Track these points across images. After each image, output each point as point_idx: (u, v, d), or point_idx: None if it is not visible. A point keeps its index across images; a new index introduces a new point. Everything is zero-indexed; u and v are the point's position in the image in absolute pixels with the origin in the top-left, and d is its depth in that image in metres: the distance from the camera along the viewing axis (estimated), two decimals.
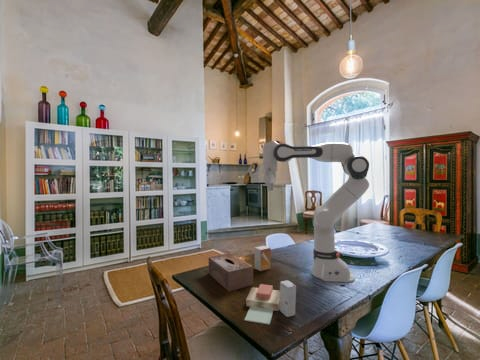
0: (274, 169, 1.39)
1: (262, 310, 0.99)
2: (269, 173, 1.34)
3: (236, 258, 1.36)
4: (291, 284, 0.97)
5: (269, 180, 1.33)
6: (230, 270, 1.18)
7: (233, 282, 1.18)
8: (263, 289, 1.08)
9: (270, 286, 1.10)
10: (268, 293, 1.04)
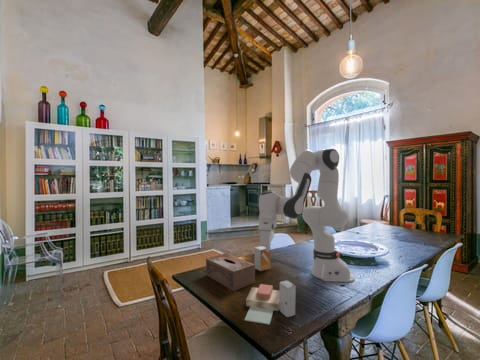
0: None
1: (262, 310, 0.99)
2: None
3: (235, 258, 1.36)
4: (290, 284, 0.97)
5: None
6: (235, 270, 1.19)
7: (238, 282, 1.19)
8: (263, 289, 1.08)
9: (270, 286, 1.10)
10: (268, 293, 1.04)
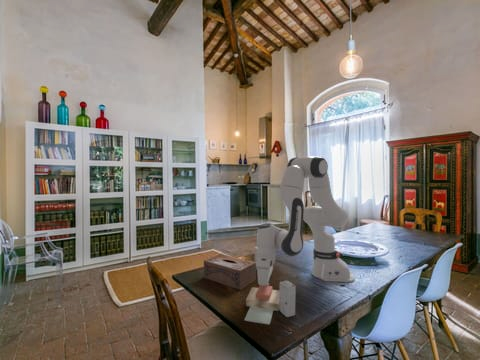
0: None
1: (262, 310, 0.99)
2: None
3: (232, 257, 1.37)
4: (290, 284, 0.97)
5: None
6: (240, 269, 1.20)
7: (243, 280, 1.20)
8: (263, 290, 1.07)
9: (270, 287, 1.10)
10: (268, 294, 1.03)
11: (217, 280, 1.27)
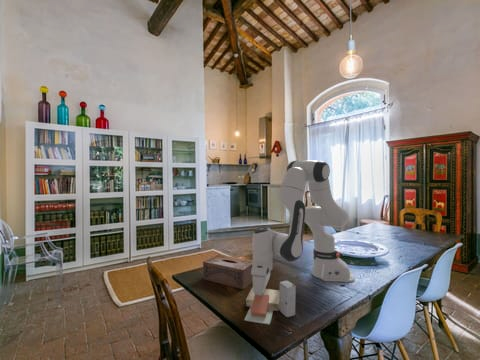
0: None
1: None
2: None
3: (231, 257, 1.37)
4: (290, 284, 0.97)
5: None
6: (243, 268, 1.21)
7: (246, 280, 1.21)
8: (258, 303, 0.98)
9: (266, 297, 1.00)
10: (264, 311, 0.94)
11: (218, 281, 1.26)
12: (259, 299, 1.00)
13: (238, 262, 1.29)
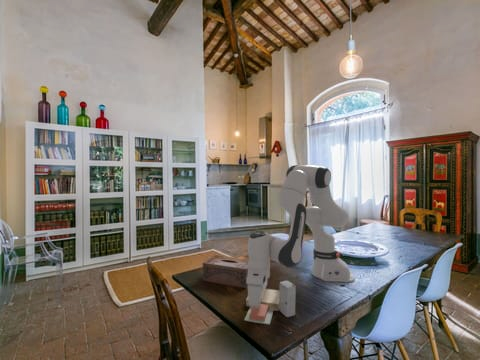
0: None
1: None
2: None
3: (230, 257, 1.37)
4: (290, 284, 0.97)
5: None
6: (245, 267, 1.22)
7: None
8: (257, 309, 0.96)
9: (265, 305, 0.99)
10: (263, 314, 0.92)
11: (219, 281, 1.26)
12: None
13: (238, 262, 1.30)
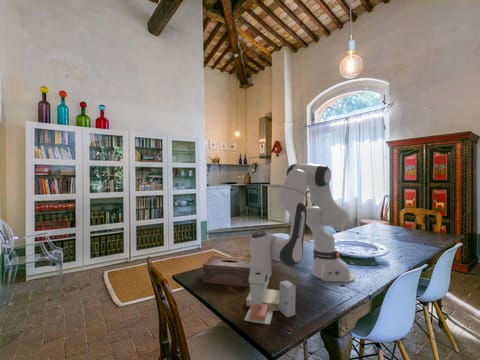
0: None
1: None
2: None
3: (228, 257, 1.37)
4: (290, 284, 0.97)
5: None
6: (247, 266, 1.23)
7: None
8: (257, 309, 0.96)
9: (265, 305, 0.99)
10: (263, 314, 0.92)
11: (221, 282, 1.25)
12: (258, 306, 0.98)
13: (239, 261, 1.31)
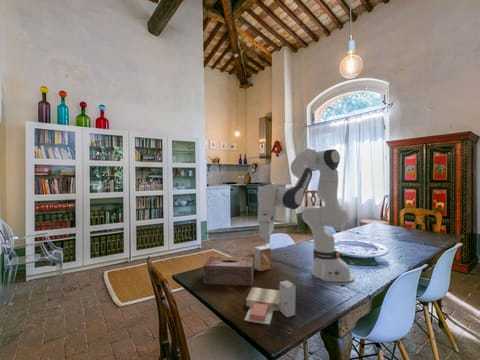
0: None
1: None
2: None
3: (227, 257, 1.37)
4: (290, 284, 0.97)
5: None
6: (249, 265, 1.24)
7: (252, 276, 1.26)
8: (257, 309, 0.96)
9: (265, 305, 0.99)
10: (263, 314, 0.92)
11: (222, 282, 1.24)
12: (258, 306, 0.98)
13: (239, 261, 1.31)
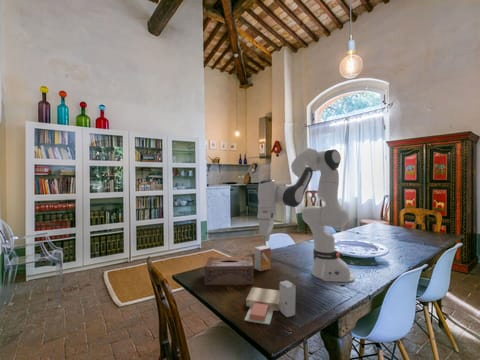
0: None
1: None
2: None
3: (226, 257, 1.37)
4: (290, 284, 0.97)
5: None
6: (250, 264, 1.26)
7: None
8: (257, 309, 0.96)
9: (265, 305, 0.99)
10: (263, 314, 0.92)
11: (224, 282, 1.24)
12: (258, 306, 0.98)
13: (239, 260, 1.32)
